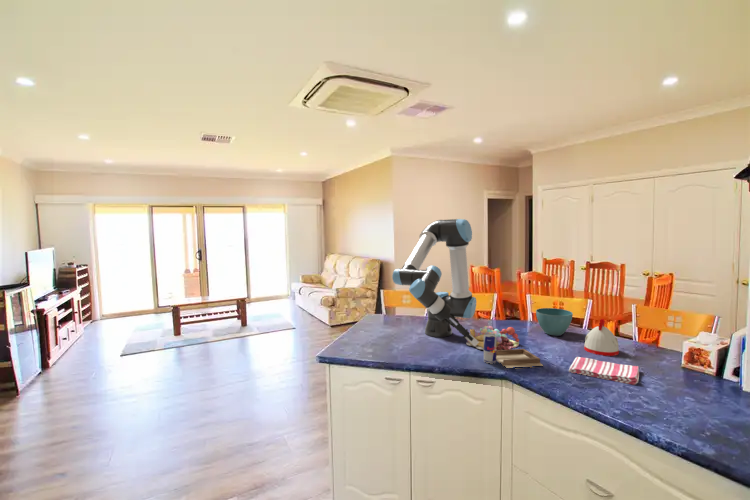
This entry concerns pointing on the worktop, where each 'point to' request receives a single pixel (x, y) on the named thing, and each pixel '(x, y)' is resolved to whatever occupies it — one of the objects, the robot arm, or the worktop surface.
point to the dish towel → (605, 370)
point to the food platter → (501, 339)
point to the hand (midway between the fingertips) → (476, 343)
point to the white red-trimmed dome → (601, 341)
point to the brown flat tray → (517, 358)
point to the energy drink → (490, 348)
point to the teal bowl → (554, 320)
